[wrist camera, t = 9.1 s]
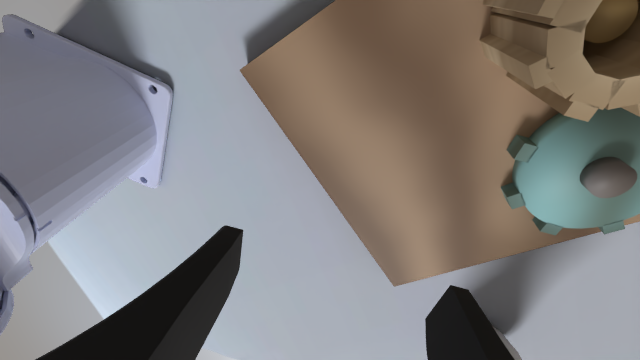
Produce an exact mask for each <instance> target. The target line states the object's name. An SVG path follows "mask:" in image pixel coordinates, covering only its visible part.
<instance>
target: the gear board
mask: <svg viewBox="0 0 640 360" xmlns="http://www.w3.org/2000/svg"><path fill="white" fill-rule="evenodd" d="M483 2H484V0H335V1H334V2H333V3H331V4H330V5H328V6H327V7H326V8H324V9H323V10H322V11H320V12H319V13H317V14H316V15H315V16H313V17H312V18H311V19H309V20H308V21H306V22H305V23H304V24H302V25H301V26H300V27H298V28H297V29H295V30H294V31H293V32H291V33H290V34H288V35H287V36H286V37H284V38H283V39H282V40H280V41H279V42H277V43H276V44H275V45H273V46H272V47H271V48H269V49H268V50H266V51H265V52H264V53H262V54H261V55H260V56H258V57H257V58H255V59H254V60H253V61H251V62H250V63H249V64H247V65H246V66H244V67H243V68H242V69H240V72H241V73H242V74H243V76H244V77H245V79H246V80H247V81H248V83H249V84H250V86H251V87H252V88H253V90H254V91H255V93H256V94H257V95H258V97H259V98H260V100H261V101H262V102H263V104H264V105H265V107H266V108H267V109H268V111H269V112H270V114H271V115H272V116H273V118H274V119H275V121H276V122H277V123H278V125H279V126H280V128H281V129H282V130H283V132H284V133H285V135H286V136H287V137H288V139H289V140H290V142H291V143H292V144H293V146H294V147H295V149H296V150H297V151H298V153H299V154H300V156H301V157H302V158H303V160H304V161H305V163H306V164H307V165H308V167H309V168H310V170H311V171H312V172H313V174H314V175H315V177H316V178H317V179H318V181H319V182H320V184H321V185H322V186H323V188H324V189H325V191H326V192H327V193H328V195H329V196H330V198H331V199H332V200H333V202H334V203H335V205H336V206H337V207H338V209H339V210H340V212H341V213H342V214H343V216H344V217H345V219H346V220H347V221H348V223H349V224H350V226H351V227H352V228H353V230H354V231H355V233H356V234H357V235H358V237H359V238H360V240H361V241H362V242H363V244H364V245H365V247H366V248H367V249H368V251H369V252H370V254H371V255H372V256H373V258H374V259H375V261H376V262H377V263H378V265H379V266H380V268H381V269H382V270H383V272H384V273H385V275H386V276H387V277H388V279H389V280H390V282H391V283H392V284H393V286H398V285H402V284H406V283H409V282H413V281H417V280H421V279H424V278H428V277H432V276H436V275H439V274H443V273H447V272H451V271H454V270H458V269H462V268H466V267H470V266H473V265H477V264H481V263H485V262H488V261H492V260H496V259H500V258H503V257H507V256H511V255H515V254H518V253H522V252H526V251H530V250H534V249H537V248H541V247H545V246H549V245H552V244H556V243H560V242H564V241H567V240H571V239H575V238H579V237H582V236H586V235H590V234H594V233H598V232H601V231H602V232H603V233H604V234H607V233H611V232H615V231H619V230H622V229H625V226H624V225H628V224H631V223H635V222H639V221H640V117H639V116H637V115H635V114H633V113H631V112H629V111H627V110H625V109H623V108H621V107H620V108H615V109H610V110H607V109H605V108H604V109H603V110H602V109H598V110H597V111H596V112H595V114H594V115H593V116H592V118H591V119H590V120H589V121H588V122H587V121H583V120H579V119H575V118H571V117H568V116H564V115H562V114H561V113H559V112H558V111H557V110H555V109H554V108H552V107H551V106H549V105H548V104H546V103H545V102H543V101H542V100H541V99H539V98H538V97H536V96H535V95H533V94H532V93H530V92H529V91H527V90H526V89H525V88H523V87H522V86H520V85H519V84H517V83H516V82H514V81H513V80H511V79H510V78H509V77H507V76H506V75H507V73H508V71H506V70H505V69H503V68H502V67H500V66H498V65H497V64H495V63H494V62H492V61H491V60H489V59H488V58H486V57H485V55H484V52H483V50H482V47H481V44H480V41H479V40H480V39H482V38H484V37H486V36H488V35H489V34H491V25H490V15H491V14H494V13H496V12H492V11H491V10H492V8H493V7H491V6H487V5H483ZM637 12H638V2H637V0H602V2H601V3H600V5H599V6H598V8H597V9H596V11H595V12H594V14H593V16H592V17H591V19H590V20H589V22H588V23H587V25H586V28H585V36H584V40H586V41H590V42H593V43H604V42H608V41H611V40H613V39H615V38H617V37H619V36H620V35H621V34H623V33H624V32H625V31H626V30H627V29H628V28H629V27H630V26H631V24H632V23H633V21H634V20H635V18H636V15H637Z"/></svg>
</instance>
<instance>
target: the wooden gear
mask: <svg viewBox="0 0 640 360" xmlns="http://www.w3.org/2000/svg"><path fill="white" fill-rule="evenodd" d="M601 2H602V0H484V2H483V5H487V6H491V7H493V8H492V10H491V11H492V12H496V13H494V14H491V15H490V25H491V34H489V35H488V36H486V37H484V38H482V39H480V40H479V41H480V44H481V47H482V50H483V52H484V55H485V57H486V58H488V59H489V60H491V61H492V62H494V63H495V64H497V65H498V66H500V67H502V68H503V69H505V70H506V71H508V73H507V75H506V76H507V77H509V78H510V79H511V80H513V81H514V82H516V83H517V84H519V85H520V86H522V87H523V88H525V89H526V90H527V91H529V92H530V93H532V94H533V95H535V96H536V97H538V98H539V99H541V100H542V101H543V102H545V103H546V104H548V105H549V106H551V107H552V108H554V109H555V110H557V111H558V112H559V113H561V114H562V115H564V116H568V117H571V118H575V119H579V120H583V121H587V122H588V121H589V120H590V119H591V118H592V116H593V115H594V114H595V112H596V111H597V110H598V109H602V110H603V109H604V108H605V109H607V110H610V109H615V108H620V107H621V108H623V109H625V110H627V111H629V112H631V113H633V114H635V115H637V116H639V117H640V0H637V2H638V12H637V15H636V18H635V20H634V21H633V23H632V24H631V26H630V27H629V28H628V29H627V30H626V31H625V32H624V33H623V34H621V35H620V36H619V37H617V38H615V39H613V40H611V41H608V42H604V43H593V42H590V41H586V40H584V36H585V28H586V25H587V23H588V22H589V20H590V19H591V17H592V16H593V14H594V12H595V11H596V9H597V8H598V6H599V5H600V3H601Z"/></svg>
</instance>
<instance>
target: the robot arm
mask: <svg viewBox="0 0 640 360" xmlns="http://www.w3.org/2000/svg"><path fill="white" fill-rule="evenodd" d="M2 22H3V27H4V33H0V335H1V334H2V332H3V330H4V329H5V327H6V326H7V324H8V322H9V319H10V317H11V315H12V311H13V307H14V296H13V293H12V291H11V288H12V287H13V286H14V285H16V284H17V283H18V282H19V281H20V280H21V279H23V278H24V277H25V276H26V275H28V274H29V273H30V272H31V271H32V270H33V267H32V265H31V264H30V261H29V256H30V254H31V253H33V252H34V251H35V250H37V249H38V248H39V247H40V246H42V245H43V244H44V243H46V242H47V241H48V240H49V239H51V238H52V237H53V236H54V235H56V234H57V233H58V232H59V231H61V230H62V229H63V228H65V227H66V226H67V225H68V224H70V223H71V222H72V221H73V220H75V219H76V218H77V217H78V216H80V215H81V214H82V213H83V212H85V211H86V210H87V209H89V208H90V207H91V206H92V205H94V204H95V203H96V202H97V201H99V200H100V199H101V198H102V197H104V196H105V195H106V194H107V193H109V192H110V191H111V190H113V189H114V188H115V187H116V186H118V185H119V184H120V183H121V182H123V181H124V180H125V179H126V178H128V179H131V180H133V181H135V182H138V183H140V184H143V185H145V186H147V187H150V188H157V187H158V186H159V185H160V183H161V176H162V169H163V162H164V155H165V148H166V141H167V134H168V127H169V120H170V113H171V106H172V99H173V91H172V89H171V88H170V87H169V86H168V85H167V84H165V83H163V82H161V81H158V80H156V79H154V78H152V77H150V76H148V75H145V74H143V73H141V72H139V71H137V70H134V69H132V68H130V67H128V66H126V65H123V64H121V63H119V62H117V61H115V60H112V59H110V58H108V57H106V56H104V55H102V54H99V53H97V52H95V51H93V50H91V49H88V48H86V47H84V46H82V45H80V44H77V43H75V42H73V41H71V40H69V39H66V38H64V37H62V36H60V35H58V34H55V33H53V32H51V31H49V30H47V29H45V28H42V27H40V26H38V25H35V24H34V23H31V22H29V21H27V20H25V19H22V18H20V17H18V16H16V15H4V16H3V19H2ZM32 32H33V34H34V35H33V34H32ZM153 85H154V86H155V87H156V88H157V92H156V91H155V90H154V89H153ZM145 178H146V179H147V180H146V179H145ZM242 237H243V230H241V229H238V228H234V227H230V226H223V227H222V228H221V229H220V230H219V231H218V232H217V233H216V234H215V235H214V236H212V237H211V238H210V239H209V240H208V241H207V242H206V243H205V244H204V245H203V246H202V247H200V248H199V249H198V250H197V251H196V252H195V253H194V254H192V255H191V256H190V257H189V258H188V259H186V260H185V261H184V262H183V263H182V264H180V265H179V266H178V267H177V268H175V269H174V270H173V271H172V272H171V273H169V274H168V275H167V276H165V277H164V278H163V279H161V280H160V281H159V282H157V283H156V284H155V285H153V286H152V287H151V288H149V289H148V290H147V291H145V292H144V293H143V294H141V295H140V296H138V297H137V298H136V299H134V300H133V301H131V302H130V303H128V304H127V305H125V306H124V307H123V308H121V309H119V310H118V311H116V312H115V313H113V314H112V315H110V316H109V317H107V318H106V319H104V320H103V321H101V322H99V323H98V324H96V325H94V326H93V327H91V328H90V329H88V330H86V331H85V332H83V333H81V334H80V335H78V336H77V337H75V338H73V339H71V340H70V341H68V342H66V343H65V344H63V345H61V346H59V347H58V348H56V349H54V350H52V351H50V352H49V353H47V354H45V355H43V356H41V357H39V358H38V359H36V360H195V359H196V357H197V355H198V353H199V351H200V349H201V348H202V346H203V344H204V342H205V340H206V338H207V336H208V334H209V333H210V331H211V329H212V327H213V325H214V323H215V321H216V319H217V317H218V315H219V314H220V312H221V310H222V308H223V306H224V304H225V302H226V300H227V298H228V296H229V294H230V291H231V289H232V286H233V284H234V281H235V279H236V276H237V274H238V271H239V267H240V257H241V247H242ZM426 348H427V357H428V360H515V359H514V358H513V356H512V355H511V353H510V352H509V351H508V349H507V348H506V346H505V345H504V343H503V342H502V340H501V339H500V337H499V336H498V334H497V333H496V331H495V330H494V328H493V327H492V325H491V323H490V322H489V320H488V319H487V317H486V316H485V314H484V313H483V311H482V310H481V308H480V307H479V305H478V304H477V302H476V301H475V299H474V298H473V296H472V295H471V293H470V292H469V290H467V289H463V288H459V287H456V286H452V285H450V286H449V288H448V289H447V291H446V292H445V293H444V295H443V296H442V297H441V299H440V300H439V301H438V303H437V304H436V305H435V307H434V308H433V309H432V311H431V312H430V313H429V315H428V316H427V317H426Z"/></svg>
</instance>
